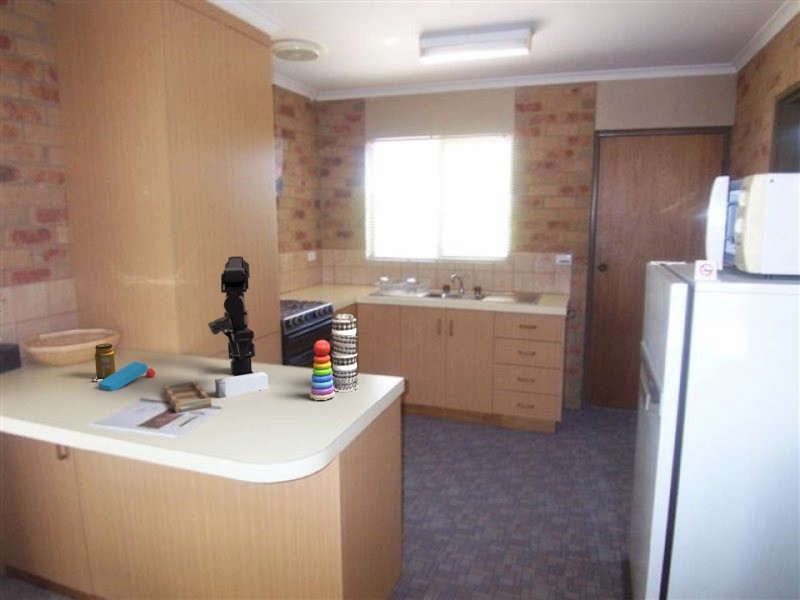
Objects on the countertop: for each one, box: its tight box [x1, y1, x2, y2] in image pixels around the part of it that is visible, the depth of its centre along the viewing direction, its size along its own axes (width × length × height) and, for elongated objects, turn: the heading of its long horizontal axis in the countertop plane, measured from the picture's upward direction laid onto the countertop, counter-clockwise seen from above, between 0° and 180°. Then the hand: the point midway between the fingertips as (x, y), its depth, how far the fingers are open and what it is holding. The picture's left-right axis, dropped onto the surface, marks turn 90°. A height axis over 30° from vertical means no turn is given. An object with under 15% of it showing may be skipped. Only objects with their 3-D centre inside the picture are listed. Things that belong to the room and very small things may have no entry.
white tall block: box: [214, 371, 269, 399], centre depth 179 cm, size 16×4×5 cm, turn 122°
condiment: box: [90, 343, 117, 383], centre depth 194 cm, size 7×8×12 cm
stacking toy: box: [309, 339, 336, 401], centre depth 173 cm, size 8×8×19 cm
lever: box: [97, 361, 156, 392], centre depth 190 cm, size 7×7×18 cm
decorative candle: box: [329, 313, 359, 390], centre depth 181 cm, size 9×9×25 cm
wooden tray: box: [163, 380, 212, 414], centre depth 172 cm, size 21×10×2 cm, turn 32°
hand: (238, 355), depth 178 cm, fingers open, 9 cm apart
